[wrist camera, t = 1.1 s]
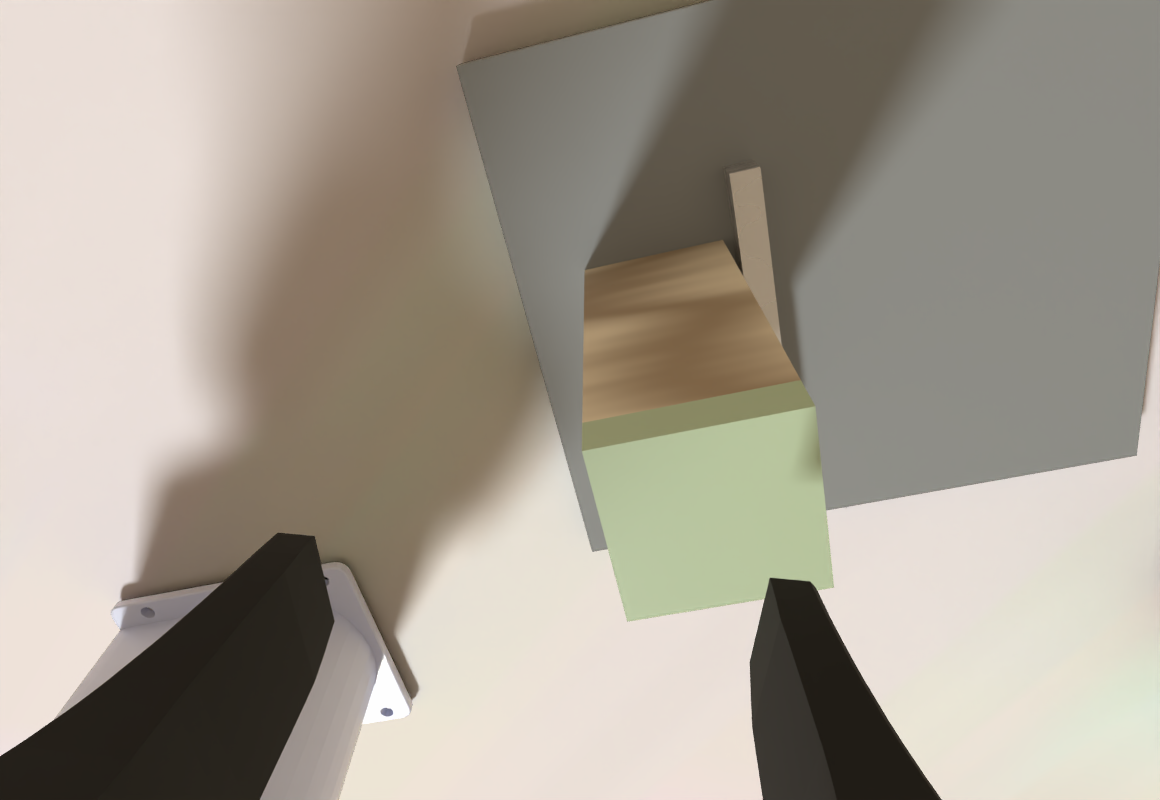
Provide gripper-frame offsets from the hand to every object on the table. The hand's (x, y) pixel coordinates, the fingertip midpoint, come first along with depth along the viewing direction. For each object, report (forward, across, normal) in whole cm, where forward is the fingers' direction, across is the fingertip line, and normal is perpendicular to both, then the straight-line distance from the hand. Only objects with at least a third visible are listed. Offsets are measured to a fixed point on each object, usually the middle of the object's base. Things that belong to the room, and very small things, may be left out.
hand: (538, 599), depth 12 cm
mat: (+14, -7, 0) cm, 15 cm away
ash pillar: (+12, -2, +1) cm, 12 cm away
